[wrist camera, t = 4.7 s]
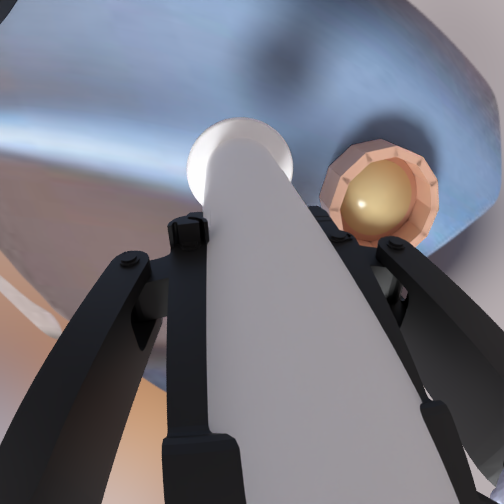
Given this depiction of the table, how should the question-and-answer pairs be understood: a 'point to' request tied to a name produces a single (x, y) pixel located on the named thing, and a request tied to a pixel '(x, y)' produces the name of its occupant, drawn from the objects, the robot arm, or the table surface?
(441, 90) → the table surface
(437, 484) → the candle
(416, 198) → the jar dish
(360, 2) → the table surface
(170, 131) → the table surface
